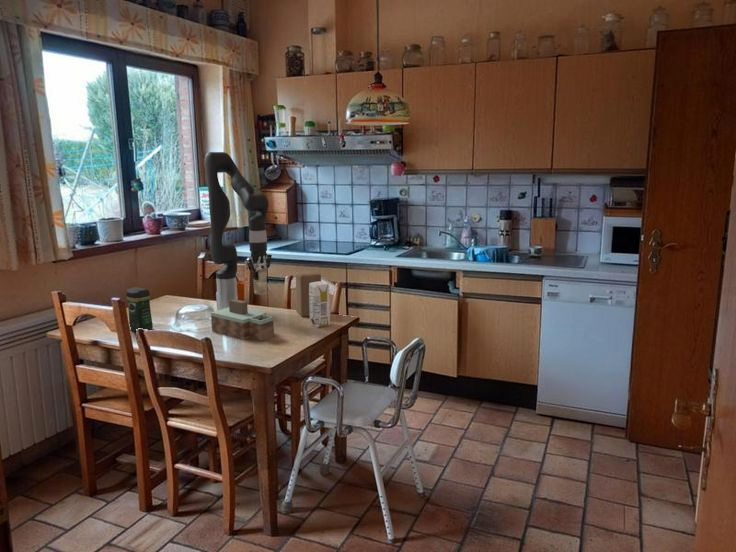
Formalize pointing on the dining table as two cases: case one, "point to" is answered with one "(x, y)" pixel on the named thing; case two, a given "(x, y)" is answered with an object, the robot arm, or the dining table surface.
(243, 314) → the lid
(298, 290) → the wooden block
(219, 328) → the wooden tray
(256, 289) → the beige rectangular block
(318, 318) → the juice carton
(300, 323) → the dining table surface
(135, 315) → the coffee jar
